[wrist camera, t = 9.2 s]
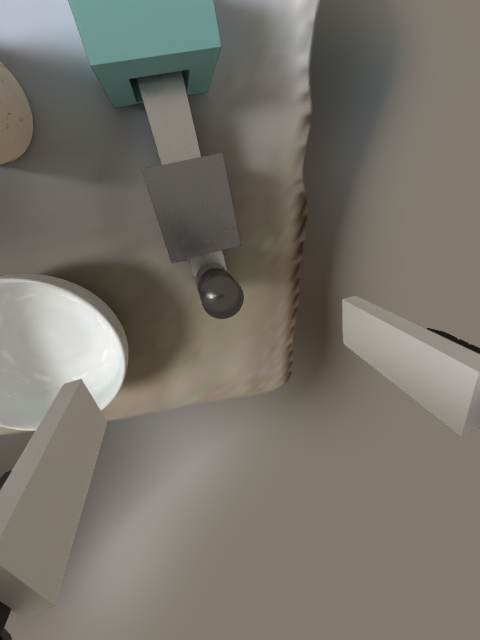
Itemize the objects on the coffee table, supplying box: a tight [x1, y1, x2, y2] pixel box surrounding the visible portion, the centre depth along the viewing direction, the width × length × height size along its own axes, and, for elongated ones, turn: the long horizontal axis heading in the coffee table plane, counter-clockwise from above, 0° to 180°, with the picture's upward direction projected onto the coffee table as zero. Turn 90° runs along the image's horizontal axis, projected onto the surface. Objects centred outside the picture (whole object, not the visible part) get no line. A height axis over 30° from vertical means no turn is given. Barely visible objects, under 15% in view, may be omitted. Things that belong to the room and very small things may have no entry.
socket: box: [68, 0, 221, 108], centre depth 20 cm, size 9×7×8 cm
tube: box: [137, 71, 244, 319], centre depth 22 cm, size 4×23×10 cm, turn 12°
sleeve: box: [142, 153, 241, 263], centre depth 26 cm, size 7×8×6 cm
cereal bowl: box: [0, 274, 129, 431], centre depth 28 cm, size 17×17×7 cm
